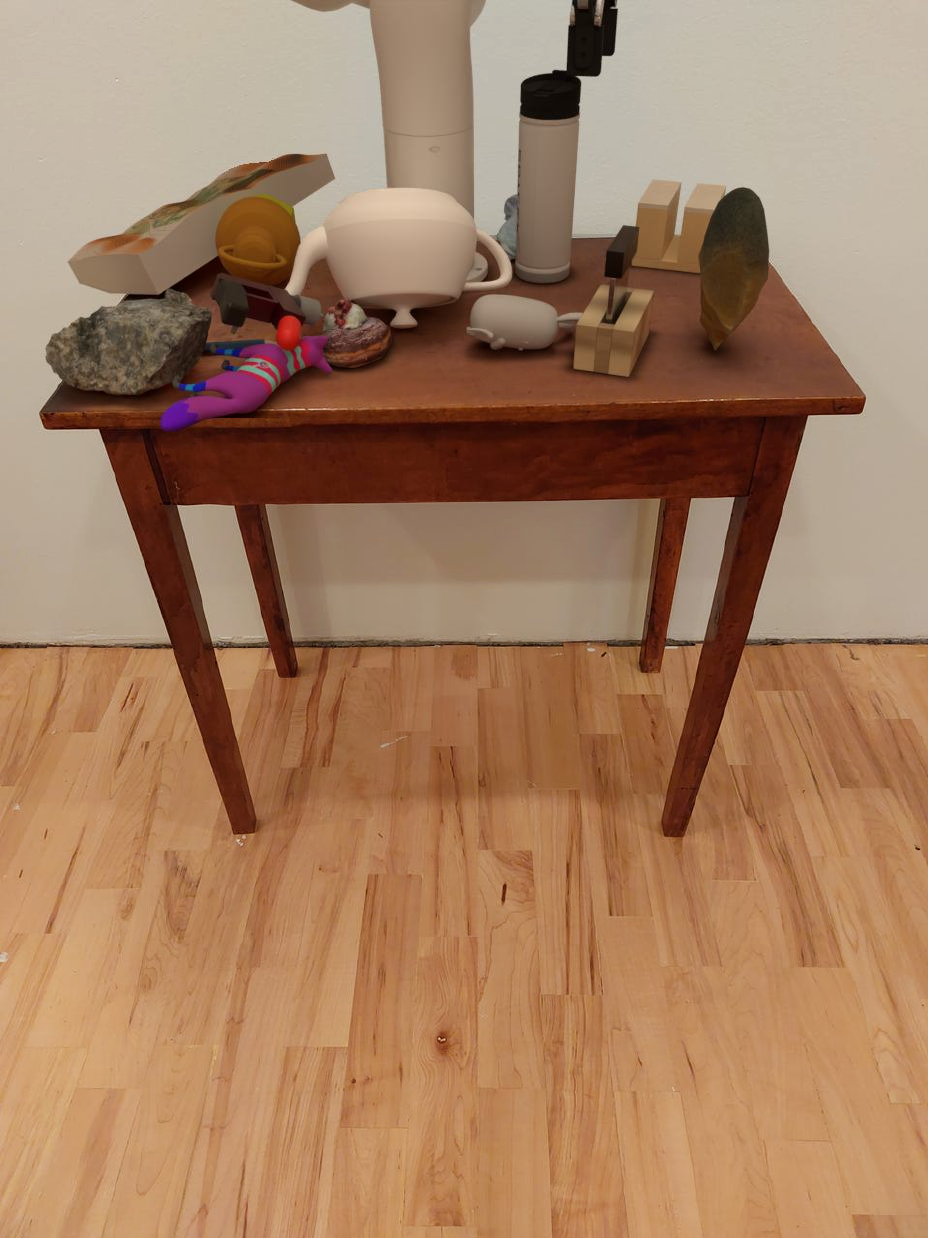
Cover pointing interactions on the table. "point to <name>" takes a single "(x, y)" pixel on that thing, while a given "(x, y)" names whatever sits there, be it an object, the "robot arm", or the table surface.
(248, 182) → the topographic model
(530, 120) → the travel mug
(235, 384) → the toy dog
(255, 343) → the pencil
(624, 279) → the knife
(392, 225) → the teapot
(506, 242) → the figurine
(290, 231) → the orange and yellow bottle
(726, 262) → the decorative stone
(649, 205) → the u-shaped wooden stand
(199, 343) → the rock
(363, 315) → the pastry
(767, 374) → the table surface
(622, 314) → the knife block
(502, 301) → the rabbit figurine
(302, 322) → the toy gun
